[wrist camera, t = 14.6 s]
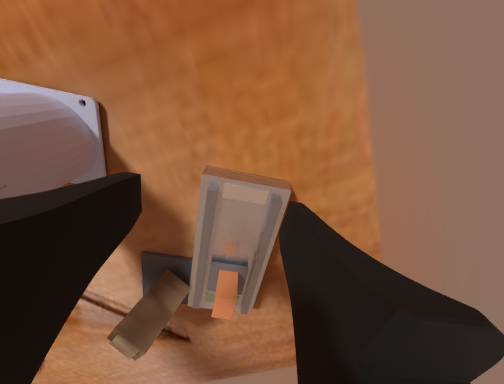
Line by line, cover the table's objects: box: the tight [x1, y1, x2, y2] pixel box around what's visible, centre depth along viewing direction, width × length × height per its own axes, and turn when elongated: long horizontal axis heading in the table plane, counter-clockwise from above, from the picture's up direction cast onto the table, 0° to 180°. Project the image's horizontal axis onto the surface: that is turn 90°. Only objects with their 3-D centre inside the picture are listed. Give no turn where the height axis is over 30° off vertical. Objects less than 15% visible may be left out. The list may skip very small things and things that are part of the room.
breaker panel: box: [188, 166, 292, 314], centre depth 23 cm, size 8×18×3 cm, turn 168°
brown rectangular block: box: [107, 269, 191, 360], centre depth 22 cm, size 4×4×7 cm
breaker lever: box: [206, 261, 248, 319], centre depth 22 cm, size 4×4×4 cm
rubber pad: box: [142, 252, 193, 304], centre depth 26 cm, size 7×8×1 cm
